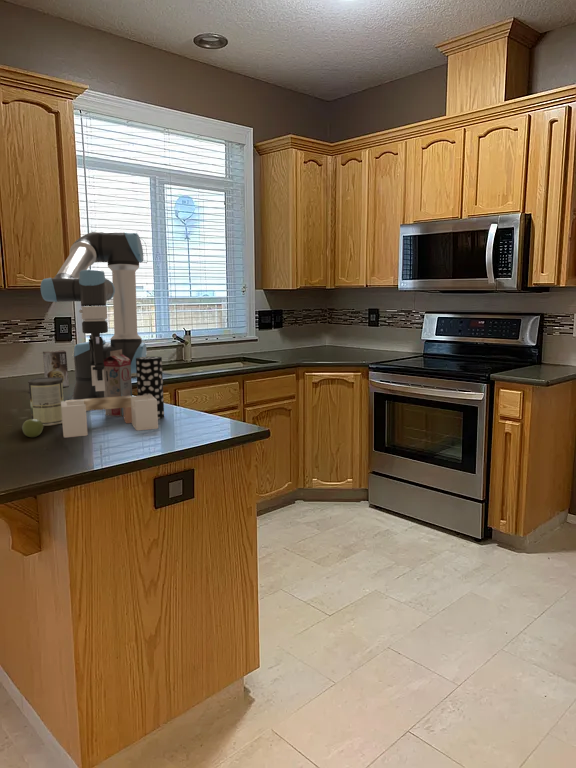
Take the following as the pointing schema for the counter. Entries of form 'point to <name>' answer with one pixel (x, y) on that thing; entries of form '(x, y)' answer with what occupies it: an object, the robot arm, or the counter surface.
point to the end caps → (140, 409)
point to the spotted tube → (151, 380)
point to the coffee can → (46, 399)
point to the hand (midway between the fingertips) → (98, 388)
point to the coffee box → (56, 365)
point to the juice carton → (117, 379)
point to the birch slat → (106, 403)
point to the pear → (32, 427)
